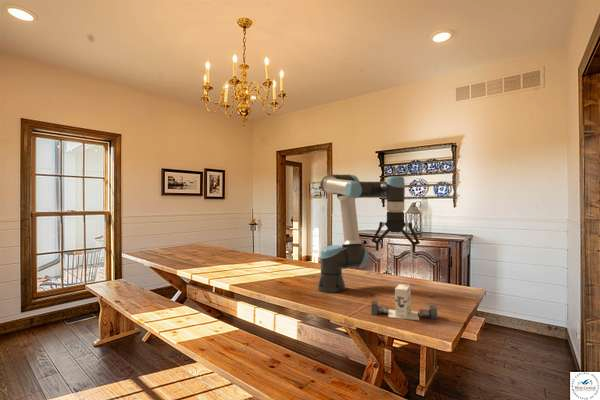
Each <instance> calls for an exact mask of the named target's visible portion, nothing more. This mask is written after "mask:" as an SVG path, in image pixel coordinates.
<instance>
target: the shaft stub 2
mask: <svg viewBox="0 0 600 400" xmlns="http://www.w3.org/2000/svg"><path fill="white" fill-rule="evenodd" d="M428 306H429V308H428V309H423V308H419V309H418V310H419V311H418V312H419V313H418V316H419V318H420V317H421V318H430V320H431V321H432V320H434V321H438V308H437V305H435V304H429V305H428Z"/></svg>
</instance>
